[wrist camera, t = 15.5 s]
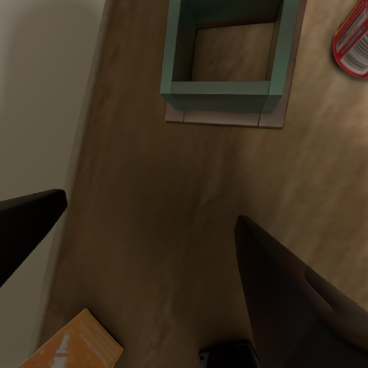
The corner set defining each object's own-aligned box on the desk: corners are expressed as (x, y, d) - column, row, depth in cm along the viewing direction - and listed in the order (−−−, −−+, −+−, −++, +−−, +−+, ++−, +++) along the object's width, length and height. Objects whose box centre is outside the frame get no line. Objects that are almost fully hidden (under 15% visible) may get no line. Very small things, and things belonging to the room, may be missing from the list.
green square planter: (281, 129, 17) (299, 113, 12) (167, 122, 20) (145, 107, 15) (306, -8, 16) (336, -86, 11) (179, 9, 19) (160, -46, 14)
